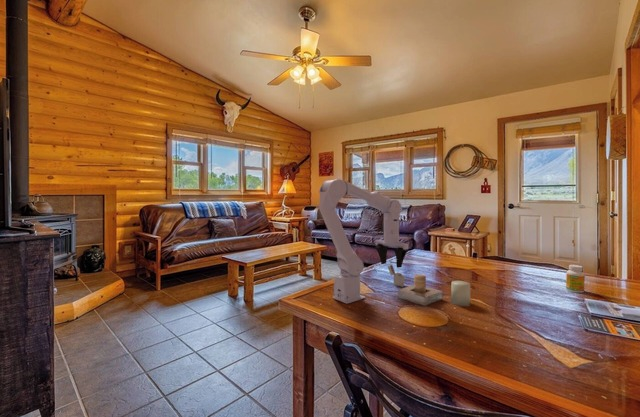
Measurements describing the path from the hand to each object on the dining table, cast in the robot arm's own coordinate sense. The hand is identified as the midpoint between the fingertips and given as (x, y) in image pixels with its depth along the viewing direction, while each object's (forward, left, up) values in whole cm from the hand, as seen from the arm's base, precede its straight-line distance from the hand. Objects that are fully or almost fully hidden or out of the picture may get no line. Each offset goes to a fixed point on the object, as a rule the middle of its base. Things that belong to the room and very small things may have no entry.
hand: (391, 265), depth 119 cm
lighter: (+9, +5, -11) cm, 15 cm away
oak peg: (+2, -12, -10) cm, 15 cm away
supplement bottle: (+55, -44, -11) cm, 71 cm away
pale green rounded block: (+9, -23, -10) cm, 27 cm away
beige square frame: (+2, -12, -10) cm, 16 cm away
